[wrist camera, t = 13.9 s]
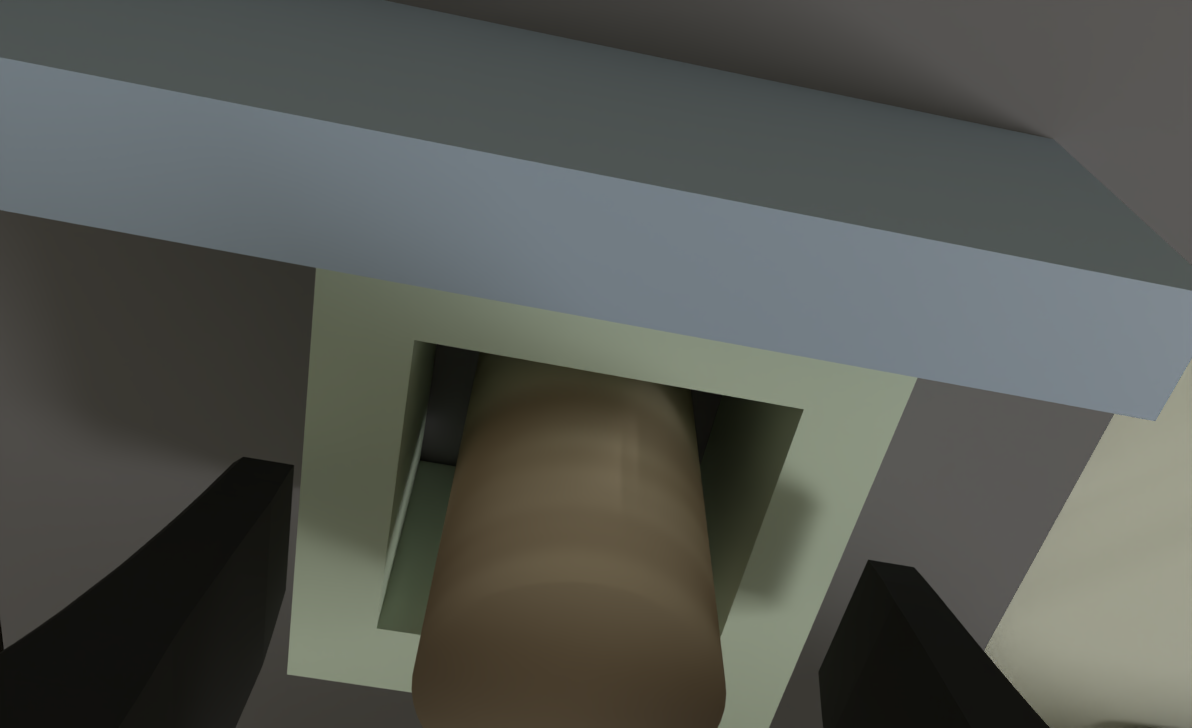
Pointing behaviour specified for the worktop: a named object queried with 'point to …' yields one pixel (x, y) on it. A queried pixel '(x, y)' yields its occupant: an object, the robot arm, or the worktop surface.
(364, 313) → the socket block
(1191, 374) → the worktop surface
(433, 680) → the dowel
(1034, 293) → the backstop wall
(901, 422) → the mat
